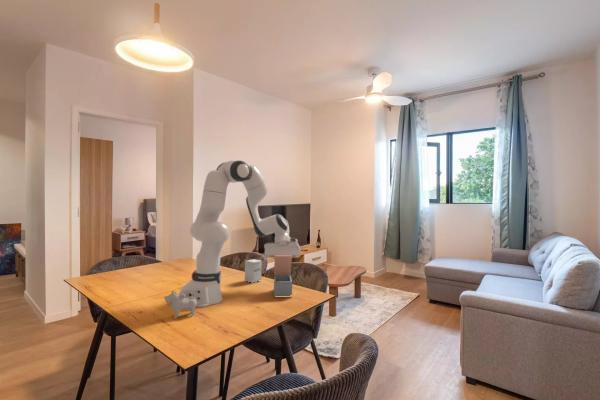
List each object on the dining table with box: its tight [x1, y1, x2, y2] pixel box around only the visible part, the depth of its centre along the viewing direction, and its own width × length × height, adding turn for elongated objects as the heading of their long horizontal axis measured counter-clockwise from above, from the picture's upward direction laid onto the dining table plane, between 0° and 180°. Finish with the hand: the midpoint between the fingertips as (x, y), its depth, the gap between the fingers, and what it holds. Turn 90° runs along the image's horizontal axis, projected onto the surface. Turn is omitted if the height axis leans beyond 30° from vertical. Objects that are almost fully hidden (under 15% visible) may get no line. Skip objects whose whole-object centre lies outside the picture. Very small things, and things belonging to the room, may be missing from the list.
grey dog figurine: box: [163, 290, 197, 319], centre depth 127 cm, size 5×13×11 cm, turn 112°
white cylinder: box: [244, 258, 263, 284], centre depth 182 cm, size 7×7×13 cm
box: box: [273, 274, 293, 297], centre depth 160 cm, size 9×13×8 cm
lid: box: [273, 255, 293, 276], centre depth 164 cm, size 9×13×1 cm
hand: (283, 263), depth 164 cm, fingers closed, pressing on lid
